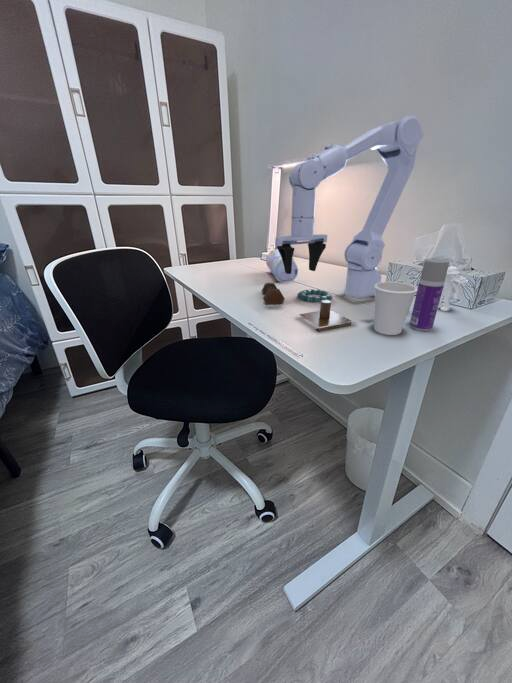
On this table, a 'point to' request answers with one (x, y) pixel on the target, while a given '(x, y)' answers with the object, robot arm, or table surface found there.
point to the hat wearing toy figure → (451, 286)
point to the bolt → (272, 294)
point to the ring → (323, 294)
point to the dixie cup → (392, 306)
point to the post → (326, 317)
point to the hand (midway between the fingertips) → (300, 271)
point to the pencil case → (280, 267)
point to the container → (428, 294)
